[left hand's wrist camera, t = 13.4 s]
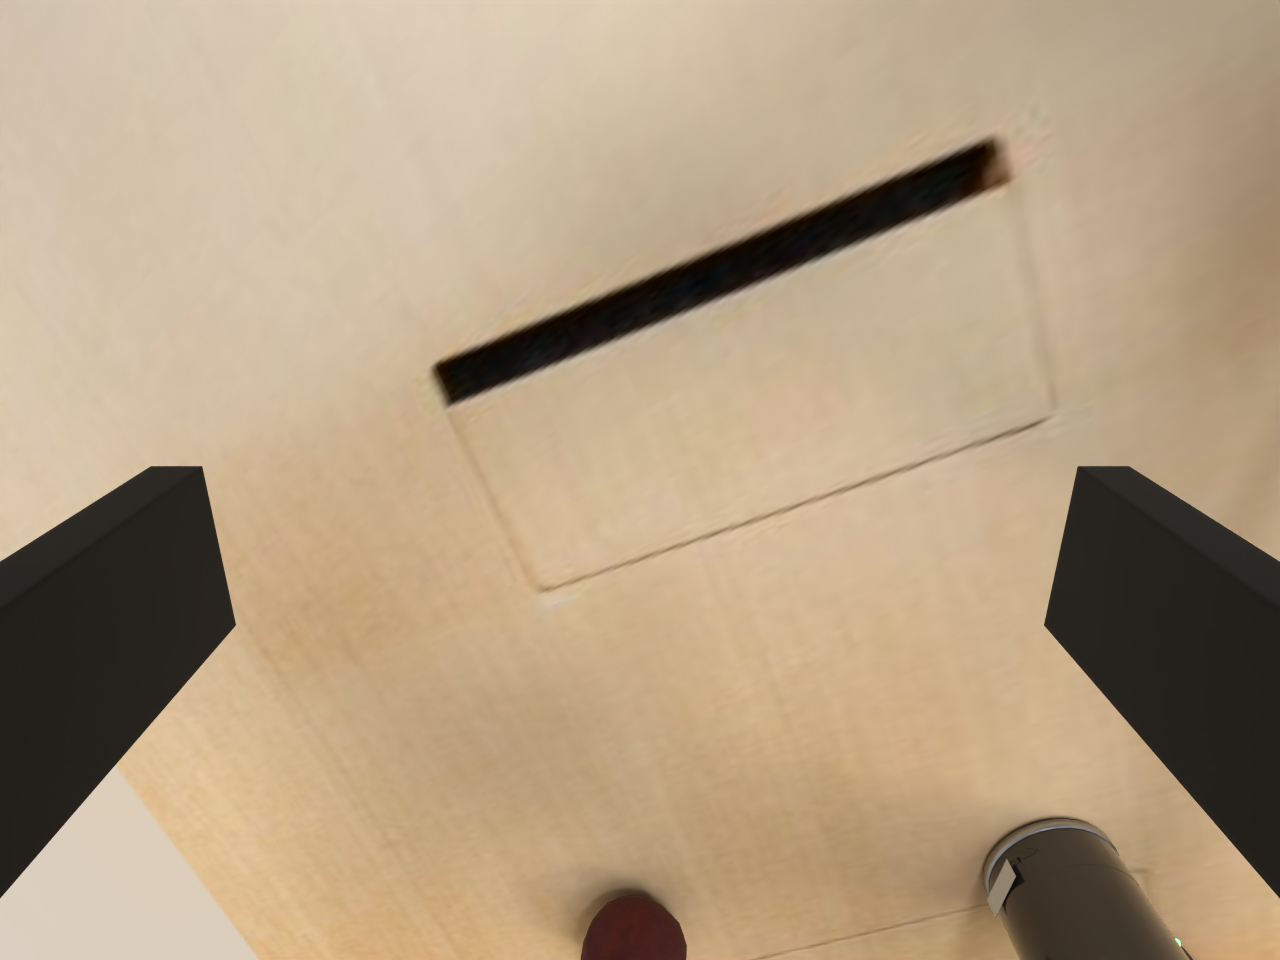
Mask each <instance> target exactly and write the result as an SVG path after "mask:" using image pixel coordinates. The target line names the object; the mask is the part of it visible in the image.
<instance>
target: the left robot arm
mask: <svg viewBox="0 0 1280 960" xmlns="http://www.w3.org/2000/svg"><path fill="white" fill-rule="evenodd" d="M235 626H236V623H235V618H234V614H233V609H232V604H231V600H230V595H229V590H228V586H227V581H226V576H225V571H224V567H223V562H222V557H221V553H220V548H219V543H218V539H217V534H216V529H215V525H214V520H213V515H212V510H211V506H210V501H209V496H208V492H207V487H206V482H205V478H204V473H203V468H202V466H151V467H149V468H148V469H146V470H144V471H143V472H141V473H140V474H138V475H137V476H135V477H133V478H132V479H130V480H129V481H127V482H126V483H124V484H122V485H121V486H119V487H118V488H116V489H114V490H113V491H111V492H110V493H108V494H107V495H105V496H103V497H102V498H100V499H99V500H97V501H95V502H94V503H92V504H91V505H89V506H88V507H86V508H84V509H83V510H81V511H80V512H78V513H77V514H75V515H73V516H72V517H70V518H69V519H67V520H65V521H64V522H62V523H61V524H59V525H58V526H56V527H54V528H53V529H51V530H50V531H48V532H47V533H45V534H43V535H42V536H40V537H39V538H37V539H35V540H34V541H32V542H31V543H29V544H28V545H26V546H24V547H23V548H21V549H20V550H18V551H16V552H15V553H13V554H12V555H10V556H9V557H7V558H5V559H4V560H2V561H1V562H0V898H1V897H2V896H3V894H4V893H5V892H6V891H7V890H8V889H9V888H10V886H11V885H12V884H13V883H14V882H15V881H16V879H17V878H18V877H19V876H20V875H21V874H22V872H23V871H24V870H25V869H26V868H27V867H28V866H29V864H30V863H31V862H32V861H33V860H34V859H35V857H36V856H37V855H38V854H39V853H40V852H41V850H42V849H43V848H44V847H45V846H46V845H47V843H48V842H49V841H50V840H51V839H52V838H53V837H54V835H55V834H56V833H57V832H58V831H59V830H60V828H61V827H62V826H63V825H64V824H65V823H66V821H67V820H68V819H69V818H70V817H71V816H72V815H73V813H74V812H75V811H76V810H77V809H78V808H79V806H80V805H81V804H82V803H83V802H84V801H85V799H86V798H87V797H88V796H89V795H90V794H91V793H92V791H93V790H94V789H95V788H96V787H97V786H98V784H99V783H100V782H101V781H102V780H103V779H104V777H105V776H106V775H107V774H108V773H109V772H110V770H111V769H112V768H113V767H114V766H115V765H116V764H117V762H118V761H119V760H120V759H121V758H122V757H123V755H124V754H125V753H126V752H127V751H128V750H129V748H130V747H131V746H132V745H133V744H134V743H135V742H136V740H137V739H138V738H139V737H140V736H141V735H142V733H143V732H144V731H145V730H146V729H147V728H148V726H149V725H150V724H151V723H152V722H153V721H154V720H155V718H156V717H157V716H158V715H159V714H160V713H161V711H162V710H163V709H164V708H165V707H166V706H167V704H168V703H169V702H170V701H171V700H172V699H173V697H174V696H175V695H176V694H177V693H178V692H179V691H180V689H181V688H182V687H183V686H184V685H185V684H186V682H187V681H188V680H189V679H190V678H191V677H192V675H193V674H194V673H195V672H196V671H197V670H198V669H199V667H200V666H201V665H202V664H203V663H204V662H205V660H206V659H207V658H208V657H209V656H210V655H211V653H212V652H213V651H214V650H215V649H216V648H217V647H218V645H219V644H220V643H221V642H222V641H223V640H224V638H225V637H226V636H227V635H228V634H229V633H230V631H231V630H232V629H233V628H234V627H235ZM1044 626H1045V627H1046V628H1047V629H1048V630H1049V631H1050V633H1051V634H1052V635H1053V636H1054V637H1055V638H1056V640H1057V641H1058V642H1059V643H1060V644H1061V645H1062V647H1063V648H1064V649H1065V650H1066V651H1067V652H1068V653H1069V655H1070V656H1071V657H1072V658H1073V659H1074V660H1075V662H1076V663H1077V664H1078V665H1079V666H1080V667H1081V669H1082V670H1083V671H1084V672H1085V673H1086V674H1087V675H1088V677H1089V678H1090V679H1091V680H1092V681H1093V682H1094V684H1095V685H1096V686H1097V687H1098V688H1099V689H1100V691H1101V692H1102V693H1103V694H1104V695H1105V696H1106V697H1107V699H1108V700H1109V701H1110V702H1111V703H1112V704H1113V706H1114V707H1115V708H1116V709H1117V710H1118V711H1119V713H1120V714H1121V715H1122V716H1123V717H1124V718H1125V720H1126V721H1127V722H1128V723H1129V724H1130V725H1131V726H1132V728H1133V729H1134V730H1135V731H1136V732H1137V733H1138V735H1139V736H1140V737H1141V738H1142V739H1143V740H1144V742H1145V743H1146V744H1147V745H1148V746H1149V747H1150V748H1151V750H1152V751H1153V752H1154V753H1155V754H1156V755H1157V757H1158V758H1159V759H1160V760H1161V761H1162V762H1163V764H1164V765H1165V766H1166V767H1167V768H1168V769H1169V770H1170V772H1171V773H1172V774H1173V775H1174V776H1175V777H1176V779H1177V780H1178V781H1179V782H1180V783H1181V784H1182V786H1183V787H1184V788H1185V789H1186V790H1187V791H1188V793H1189V794H1190V795H1191V796H1192V797H1193V798H1194V799H1195V801H1196V802H1197V803H1198V804H1199V805H1200V806H1201V808H1202V809H1203V810H1204V811H1205V812H1206V813H1207V815H1208V816H1209V817H1210V818H1211V819H1212V820H1213V821H1214V823H1215V824H1216V825H1217V826H1218V827H1219V828H1220V830H1221V831H1222V832H1223V833H1224V834H1225V835H1226V837H1227V838H1228V839H1229V840H1230V841H1231V842H1232V843H1233V845H1234V846H1235V847H1236V848H1237V849H1238V850H1239V852H1240V853H1241V854H1242V855H1243V856H1244V857H1245V859H1246V860H1247V861H1248V862H1249V863H1250V864H1251V866H1252V867H1253V868H1254V869H1255V870H1256V871H1257V872H1258V874H1259V875H1260V876H1261V877H1262V878H1263V879H1264V881H1265V882H1266V883H1267V884H1268V885H1269V886H1270V888H1271V889H1272V890H1273V891H1274V892H1275V893H1276V894H1277V896H1278V897H1279V898H1280V562H1279V561H1278V560H1276V559H1275V558H1273V557H1271V556H1270V555H1268V554H1267V553H1265V552H1264V551H1262V550H1260V549H1259V548H1257V547H1256V546H1254V545H1252V544H1251V543H1249V542H1248V541H1246V540H1245V539H1243V538H1241V537H1240V536H1238V535H1237V534H1235V533H1233V532H1232V531H1230V530H1229V529H1227V528H1226V527H1224V526H1222V525H1221V524H1219V523H1218V522H1216V521H1215V520H1213V519H1211V518H1210V517H1208V516H1207V515H1205V514H1203V513H1202V512H1200V511H1199V510H1197V509H1196V508H1194V507H1192V506H1191V505H1189V504H1188V503H1186V502H1185V501H1183V500H1181V499H1180V498H1178V497H1177V496H1175V495H1173V494H1172V493H1170V492H1169V491H1167V490H1166V489H1164V488H1162V487H1161V486H1159V485H1158V484H1156V483H1154V482H1153V481H1151V480H1150V479H1148V478H1147V477H1145V476H1143V475H1142V474H1140V473H1139V472H1137V471H1136V470H1134V469H1132V468H1131V467H1129V466H1078V468H1077V473H1076V478H1075V482H1074V487H1073V492H1072V496H1071V501H1070V506H1069V510H1068V515H1067V520H1066V525H1065V529H1064V534H1063V539H1062V543H1061V548H1060V553H1059V557H1058V562H1057V567H1056V571H1055V576H1054V581H1053V586H1052V590H1051V595H1050V600H1049V604H1048V609H1047V614H1046V618H1045V623H1044Z"/></svg>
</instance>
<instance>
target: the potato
mask: <svg viewBox="0 0 1280 960" xmlns="http://www.w3.org/2000/svg"><path fill="white" fill-rule="evenodd" d="M686 951H687V945H686V942H685V938H684V935H683V932H682V929H681V927H680V924H679V922H678V921H677V920H676V919H675V918H674V917H673V916H672V915H671V914H670V913H669V912H668V911H667V910H666V909H665V908H664V907H663V906H661V905H660V904H658V903H656V902H654V901H652V900H650V899H648V898H646V897H642V896H637V895H632V896H623V897H620V898H617V899H615V900H613V901H611V902H609V903H607V904H606V905H605V906H604V907H603V908H602V909H601V910H600V911H599V913H598V914H597V915H596V916H595V917H594V919H593V921H592V923H591V925H590V927H589V929H588V932H587V934H586V937H585V939H584V942H583V948H582V954H581V960H686Z"/></svg>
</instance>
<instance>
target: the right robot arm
mask: <svg viewBox="0 0 1280 960" xmlns="http://www.w3.org/2000/svg"><path fill="white" fill-rule="evenodd" d="M983 882H984V887H985V890H986V892H987V894H988V898H987V901H988V904H989V906H990V908H991V910H992V912H993V914H994V916H995V917H996V915H997V913H998V914H999V916H1000V918H1001V920H1002V922H1003V925H1004V927H1005V929H1006V931H1007V933H1008V935H1009V938H1010V940H1011V942H1012V944H1013V946H1014V948H1015V950H1016V953H1017V955H1018V957H1019V959H1020V960H1193V959H1192V958H1191V957H1190V955H1189V954H1188V953H1187V952H1186V951H1185V949H1184V948H1183V947H1182V946H1181V944H1180V941H1179V940H1178V939H1175V938H1174V936H1173V935H1172V933H1171V932H1170V930H1169V929H1168V927H1167V926H1166V924H1165V923H1164V921H1163V920H1162V919H1161V917H1160V916H1159V914H1158V913H1157V911H1156V910H1155V908H1154V907H1153V905H1152V904H1151V903H1150V901H1149V900H1148V898H1147V897H1146V895H1145V894H1144V892H1143V891H1142V889H1141V888H1140V886H1139V884H1138V883H1137V882H1136V880H1135V879H1134V877H1133V876H1132V874H1131V873H1130V871H1129V870H1128V868H1127V867H1126V865H1125V864H1124V863H1123V861H1122V860H1121V858H1120V857H1119V854H1118V852H1117V850H1116V848H1115V847H1114V845H1113V844H1112V842H1111V841H1110V840H1109V838H1108V837H1107V836H1106V835H1105V834H1104V833H1103V832H1102V831H1101V830H1099V829H1098V828H1096V827H1094V826H1092V825H1090V824H1087V823H1085V822H1081V821H1077V820H1070V819H1053V820H1046V821H1041V822H1037V823H1033V824H1030V825H1028V826H1025V827H1023V828H1021V829H1019V830H1017V831H1015V832H1013V833H1012V834H1010V835H1009V836H1007V837H1006V838H1005V839H1004V840H1002V841H1001V842H1000V843H999V844H998V845H997V846H996V847H995V849H994V850H993V851H992V853H991V854H990V856H989V857H988V859H987V861H986V864H985V867H984V872H983Z"/></svg>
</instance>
